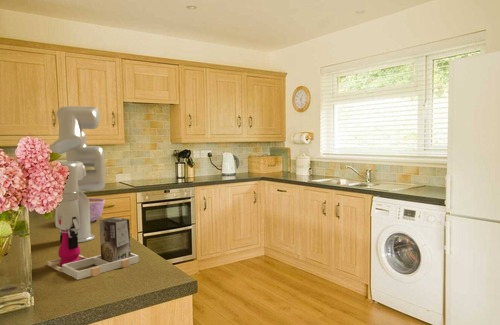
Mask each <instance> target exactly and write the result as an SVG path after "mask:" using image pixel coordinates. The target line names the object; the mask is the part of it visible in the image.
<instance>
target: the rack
mask: <svg viewBox="0 0 500 325" xmlns="http://www.w3.org/2000/svg"><path fill="white" fill-rule="evenodd" d="M130 254H131V257H129V258H125V259H121V260H118V261H114V262H107V261H105V260H102V259H101V254H100V255H99V254H98V255H96V256H92V257H89V258H88V257H86V258H87V259H83V260H81V259H79V261H75V262H71V263H67V264H63V265H62V266H61V267H62V272H61V273H64V274H66V275H68V276H69V277H71V276H72V277H71V278H73V277H74V279H75V280H82V279H85V278H88V277H96V276H100V275H101V274H103V273H107V272H110V271H113V270H117V269H120V268H122V269H123V268H128V267H130V265H134V264H138V263H139V262H140V256H139V255H138V254H136V253H133V252H130ZM92 265H95V266H92ZM90 266H92V267H90ZM85 267H88V268H85ZM81 268H85V269H81ZM78 269H80V270H78Z"/></svg>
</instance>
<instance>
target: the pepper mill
mask: <svg viewBox="0 0 500 325" xmlns="http://www.w3.org/2000/svg"><path fill="white" fill-rule="evenodd" d="M59 224H60V225H61V219H59ZM72 228H74V227H71V228H70V229H72ZM73 231H74V230H73ZM61 232H62V235H63V239H62V243H61V245H60V246H59V248H58V251H57V252H58V253H57V254H58V257H59V259H60V258H61V259H62V260H60V263H59V267H62V265H63V264H67V263H71V262H75V261H79V260H80V259H79V258H78V256H79V255H81V247H80V245H79V244H78V247H77V248H73V249H68V238H69V235H68V230H66V231H65V230H62V229H61ZM71 233H72V231H71Z"/></svg>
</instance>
